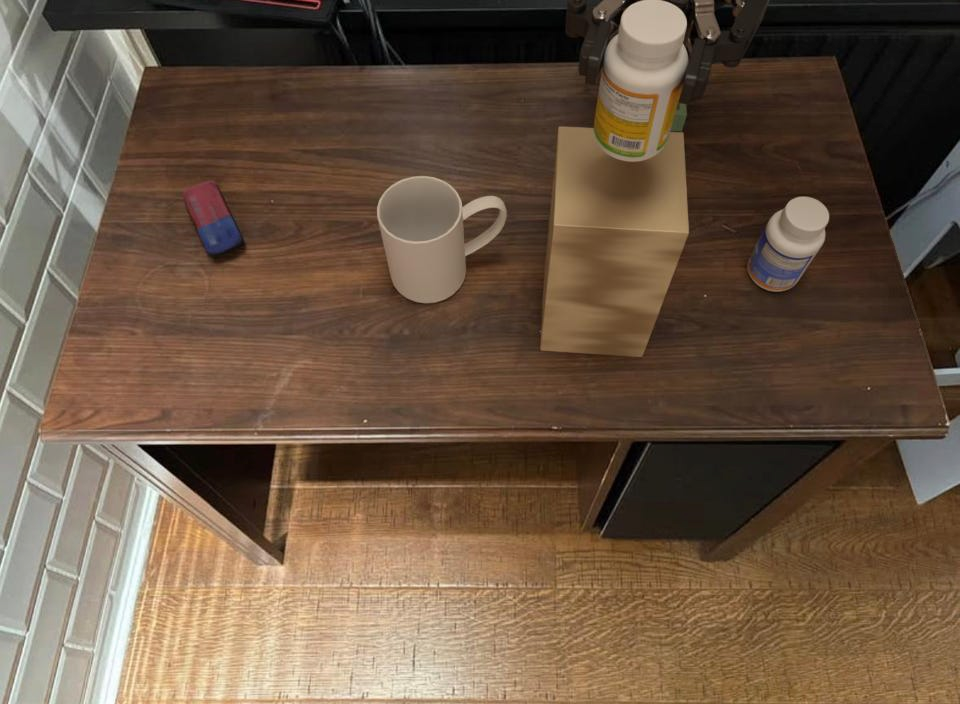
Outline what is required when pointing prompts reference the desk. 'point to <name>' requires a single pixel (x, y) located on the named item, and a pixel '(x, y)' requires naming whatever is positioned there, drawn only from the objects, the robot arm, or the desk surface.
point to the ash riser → (610, 245)
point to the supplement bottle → (641, 81)
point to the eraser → (213, 219)
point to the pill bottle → (788, 244)
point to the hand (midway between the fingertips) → (639, 83)
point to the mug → (430, 236)
